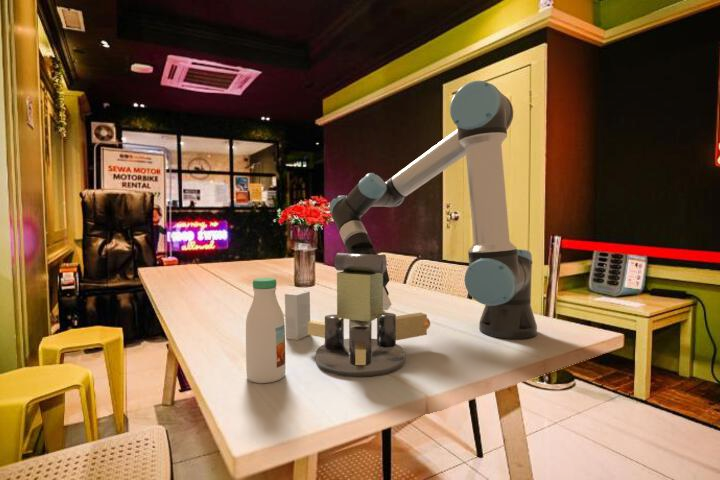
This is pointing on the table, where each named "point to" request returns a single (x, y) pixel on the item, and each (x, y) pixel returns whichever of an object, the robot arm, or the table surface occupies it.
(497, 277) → the robot arm
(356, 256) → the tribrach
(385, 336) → the knob lever
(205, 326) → the table surface
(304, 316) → the skincare box
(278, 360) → the milk bottle
